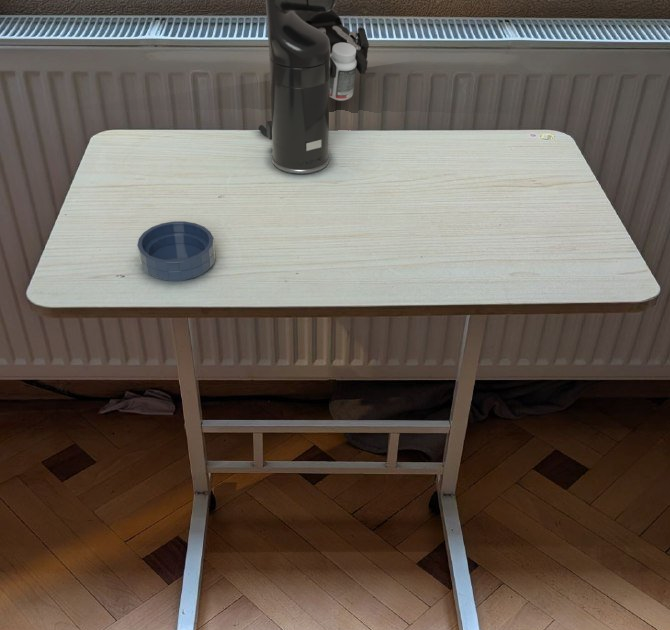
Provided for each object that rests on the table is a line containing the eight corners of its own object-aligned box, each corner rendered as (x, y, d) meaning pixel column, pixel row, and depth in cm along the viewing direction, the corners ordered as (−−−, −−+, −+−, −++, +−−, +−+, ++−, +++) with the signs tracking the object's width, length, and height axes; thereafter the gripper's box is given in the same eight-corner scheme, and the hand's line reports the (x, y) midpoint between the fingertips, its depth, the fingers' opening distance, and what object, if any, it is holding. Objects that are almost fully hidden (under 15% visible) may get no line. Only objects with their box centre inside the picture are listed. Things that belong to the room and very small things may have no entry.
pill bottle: (357, 91, 146) (363, 46, 139) (346, 104, 143) (351, 59, 136) (332, 82, 147) (337, 37, 140) (321, 95, 144) (325, 50, 137)
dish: (134, 250, 118) (130, 228, 115) (204, 237, 121) (202, 215, 118) (150, 290, 111) (146, 268, 109) (223, 275, 114) (222, 253, 112)
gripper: (275, 0, 142) (311, 55, 133) (352, -8, 147) (391, 45, 138) (273, 41, 148) (307, 96, 139) (347, 32, 153) (384, 85, 144)
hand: (349, 70), depth 139 cm, fingers closed on pill bottle, 4 cm apart
